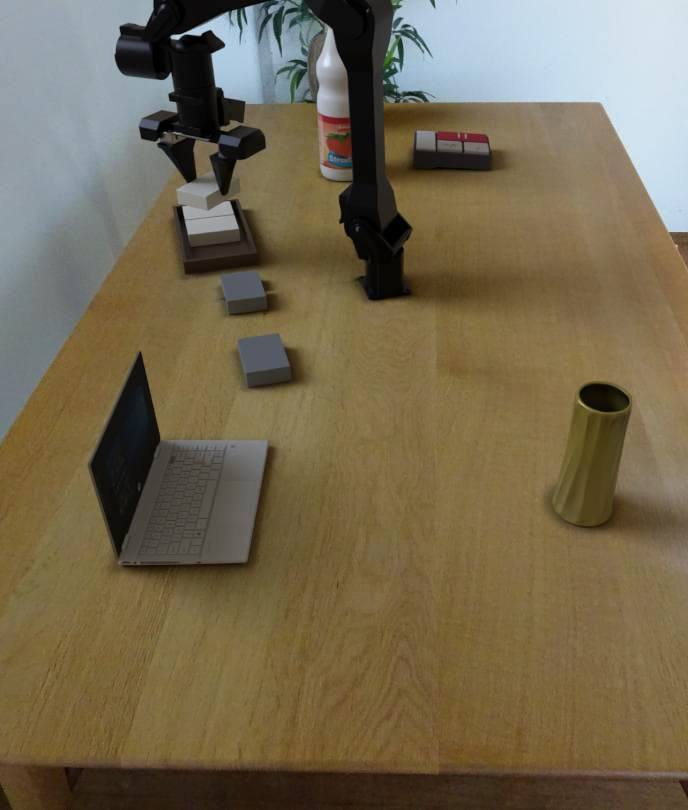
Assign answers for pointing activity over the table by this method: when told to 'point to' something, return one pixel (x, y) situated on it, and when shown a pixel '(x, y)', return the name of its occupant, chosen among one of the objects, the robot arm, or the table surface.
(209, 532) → the laptop
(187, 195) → the white flat block
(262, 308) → the grey rectangular block
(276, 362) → the gray flat block
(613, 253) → the table surface
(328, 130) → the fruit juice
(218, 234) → the white notebook
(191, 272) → the book tray
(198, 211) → the white notebook
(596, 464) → the vase
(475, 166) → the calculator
